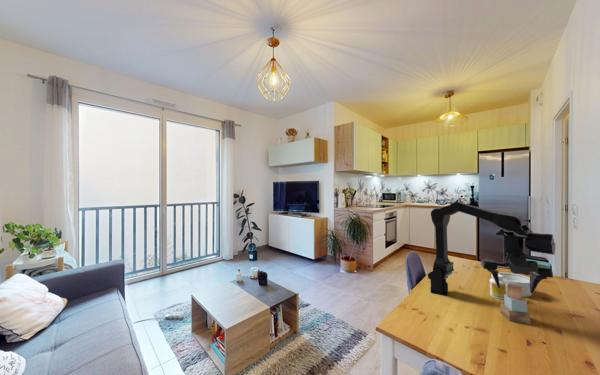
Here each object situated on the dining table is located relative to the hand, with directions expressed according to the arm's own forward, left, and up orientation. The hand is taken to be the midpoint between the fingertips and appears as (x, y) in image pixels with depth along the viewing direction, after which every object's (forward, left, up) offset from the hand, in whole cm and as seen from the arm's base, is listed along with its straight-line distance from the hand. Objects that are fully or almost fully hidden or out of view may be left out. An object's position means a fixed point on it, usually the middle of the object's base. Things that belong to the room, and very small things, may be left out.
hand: (514, 290), depth 83 cm
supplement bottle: (-1, +19, -11) cm, 22 cm away
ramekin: (+7, +29, -11) cm, 32 cm away
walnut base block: (0, 0, -11) cm, 11 cm away
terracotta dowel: (0, 0, -3) cm, 3 cm away
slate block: (0, 0, -7) cm, 7 cm away
